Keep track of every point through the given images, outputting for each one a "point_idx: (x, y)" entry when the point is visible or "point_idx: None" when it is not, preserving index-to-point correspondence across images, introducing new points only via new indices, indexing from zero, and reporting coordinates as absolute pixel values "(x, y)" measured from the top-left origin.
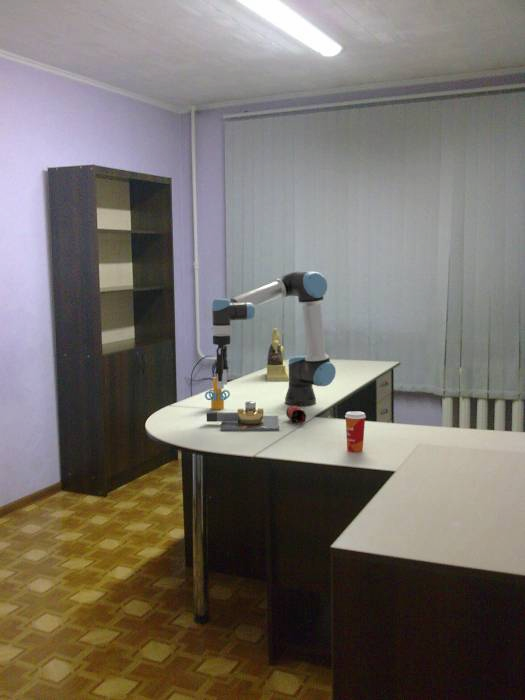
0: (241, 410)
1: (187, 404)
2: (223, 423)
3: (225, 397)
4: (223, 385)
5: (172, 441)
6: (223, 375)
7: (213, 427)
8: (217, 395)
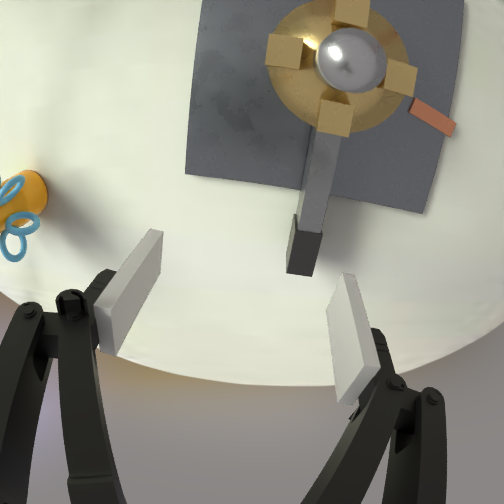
0: (352, 115)
1: (7, 276)
2: (339, 191)
3: (21, 179)
4: (356, 289)
5: (463, 342)
6: (365, 349)
7: (354, 229)
8: (9, 213)
